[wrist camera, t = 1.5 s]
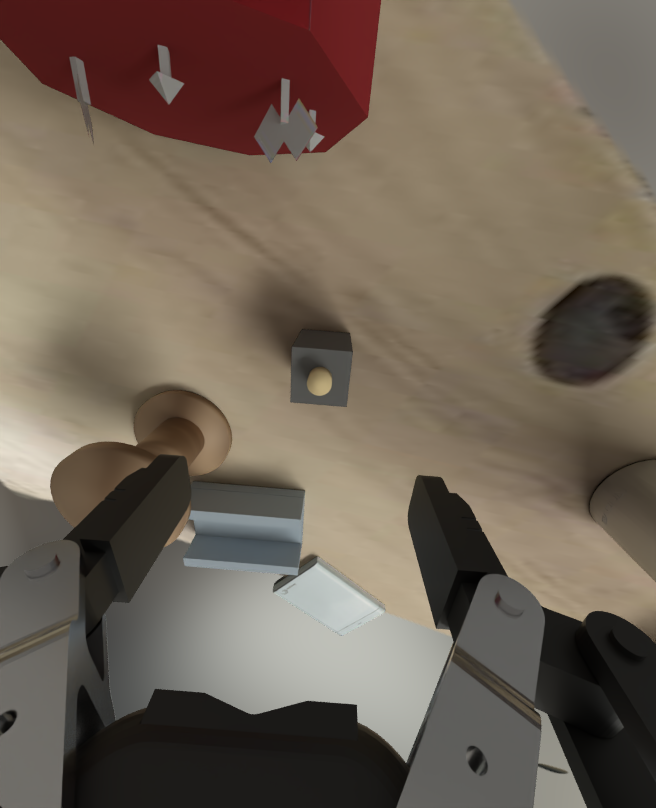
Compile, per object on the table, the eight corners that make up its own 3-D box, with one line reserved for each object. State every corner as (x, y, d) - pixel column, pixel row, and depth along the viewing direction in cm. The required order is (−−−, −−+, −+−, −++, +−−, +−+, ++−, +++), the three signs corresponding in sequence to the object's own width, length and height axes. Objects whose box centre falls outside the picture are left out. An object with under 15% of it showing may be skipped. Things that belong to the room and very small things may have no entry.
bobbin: (229, 394, 28) (175, 456, 19) (234, 473, 32) (191, 557, 23) (132, 386, 28) (31, 444, 19) (148, 466, 32) (71, 546, 23)
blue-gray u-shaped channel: (305, 490, 32) (300, 519, 29) (302, 544, 36) (297, 575, 32) (193, 481, 32) (174, 508, 29) (200, 535, 36) (184, 566, 32)
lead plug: (350, 333, 25) (353, 356, 19) (345, 378, 27) (347, 414, 20) (302, 329, 25) (289, 351, 19) (300, 374, 27) (287, 409, 20)
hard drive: (271, 593, 38) (340, 638, 41) (317, 563, 35) (386, 613, 39) (274, 581, 40) (340, 625, 43) (318, 551, 37) (384, 600, 40)
